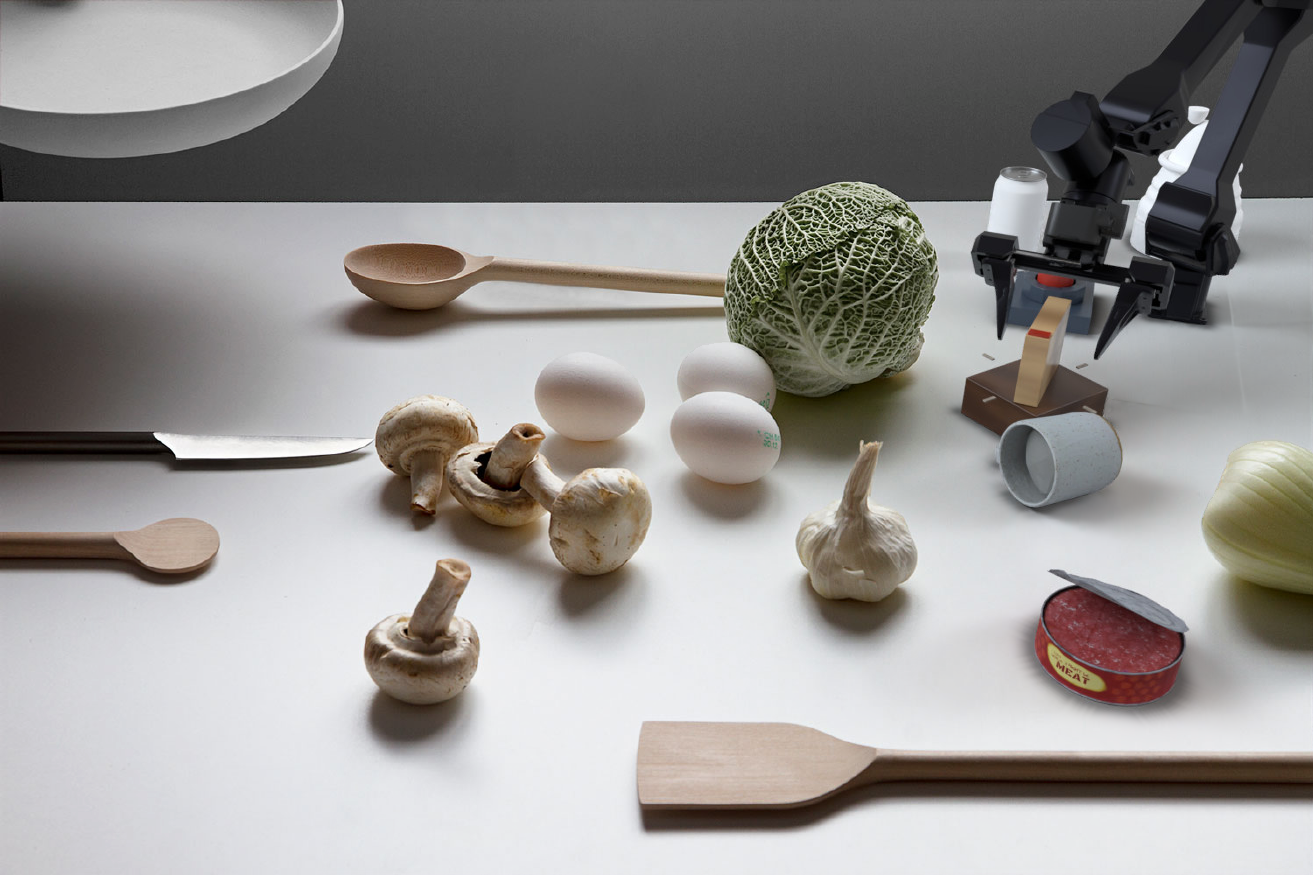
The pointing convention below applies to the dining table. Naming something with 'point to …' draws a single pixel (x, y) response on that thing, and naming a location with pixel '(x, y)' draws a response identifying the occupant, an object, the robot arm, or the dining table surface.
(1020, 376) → the tan wooden flat block
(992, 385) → the wooden block
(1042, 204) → the can
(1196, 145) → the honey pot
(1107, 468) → the ceramic mug
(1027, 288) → the button block
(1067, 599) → the canned food
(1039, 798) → the dining table surface
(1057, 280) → the button
